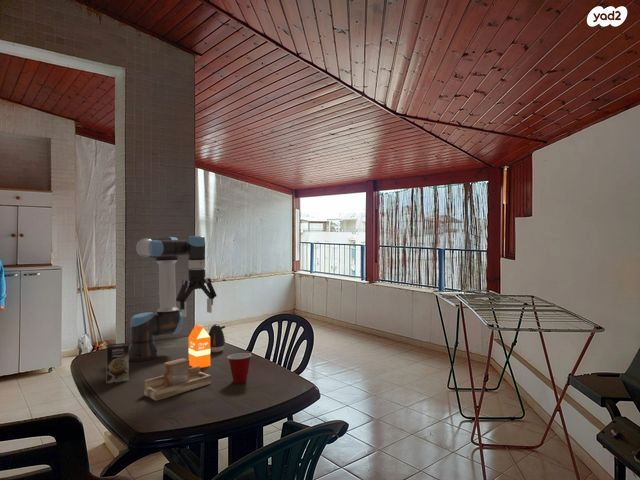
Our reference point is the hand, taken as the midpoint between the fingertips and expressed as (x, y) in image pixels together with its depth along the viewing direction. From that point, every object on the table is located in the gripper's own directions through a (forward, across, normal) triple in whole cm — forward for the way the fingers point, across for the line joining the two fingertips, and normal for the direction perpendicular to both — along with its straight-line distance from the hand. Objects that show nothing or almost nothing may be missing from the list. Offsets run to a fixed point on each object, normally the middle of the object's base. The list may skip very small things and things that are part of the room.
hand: (197, 314), depth 200 cm
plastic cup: (+29, +8, -21) cm, 37 cm away
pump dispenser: (+29, +31, +28) cm, 51 cm away
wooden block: (+27, -16, -9) cm, 32 cm away
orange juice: (+29, +10, +13) cm, 33 cm away
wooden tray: (+29, -15, -9) cm, 34 cm away
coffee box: (+29, -27, +22) cm, 45 cm away
